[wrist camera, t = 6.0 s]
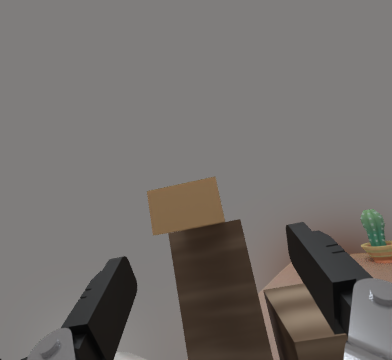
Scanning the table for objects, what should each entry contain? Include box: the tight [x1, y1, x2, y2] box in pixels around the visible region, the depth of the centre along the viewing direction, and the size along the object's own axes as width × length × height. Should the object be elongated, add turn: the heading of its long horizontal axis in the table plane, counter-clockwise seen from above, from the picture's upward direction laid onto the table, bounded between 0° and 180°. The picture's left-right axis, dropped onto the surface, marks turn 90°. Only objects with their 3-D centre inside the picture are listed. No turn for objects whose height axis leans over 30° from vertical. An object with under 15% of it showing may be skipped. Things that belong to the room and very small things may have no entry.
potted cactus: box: [361, 209, 392, 263], centre depth 105 cm, size 15×15×25 cm
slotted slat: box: [147, 177, 225, 235], centre depth 23 cm, size 24×4×2 cm, turn 172°
